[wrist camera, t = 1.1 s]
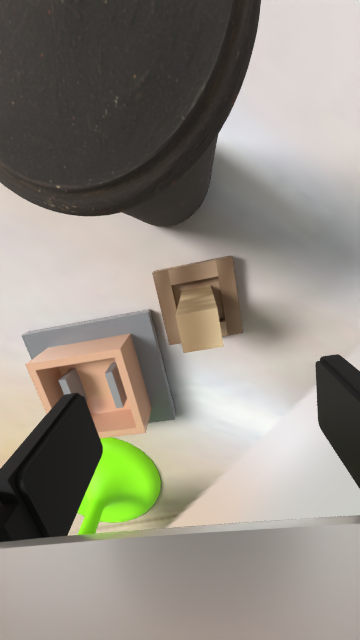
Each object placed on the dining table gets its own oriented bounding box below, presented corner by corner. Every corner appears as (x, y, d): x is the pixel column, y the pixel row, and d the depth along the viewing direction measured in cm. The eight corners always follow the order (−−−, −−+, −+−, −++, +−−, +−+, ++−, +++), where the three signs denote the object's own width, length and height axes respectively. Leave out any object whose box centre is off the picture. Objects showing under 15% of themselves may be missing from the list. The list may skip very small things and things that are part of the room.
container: (231, 176, 23) (389, -95, 4) (167, 249, 26) (86, 281, 7) (163, 101, 22) (-56, -820, 3) (101, 185, 24) (-241, -5, 5)
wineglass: (51, 507, 39) (-63, 717, 22) (54, 425, 34) (-91, 617, 17) (151, 527, 39) (117, 753, 22) (169, 449, 34) (143, 663, 17)
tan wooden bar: (210, 284, 26) (217, 307, 17) (214, 312, 27) (223, 346, 18) (182, 290, 26) (175, 315, 18) (187, 316, 27) (183, 352, 19)
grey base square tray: (150, 309, 28) (139, 324, 23) (175, 412, 32) (172, 444, 27) (28, 331, 30) (-6, 350, 25) (67, 427, 34) (45, 459, 29)
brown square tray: (230, 255, 25) (232, 256, 24) (240, 327, 28) (242, 332, 26) (154, 271, 26) (152, 272, 25) (170, 339, 29) (169, 345, 27)
